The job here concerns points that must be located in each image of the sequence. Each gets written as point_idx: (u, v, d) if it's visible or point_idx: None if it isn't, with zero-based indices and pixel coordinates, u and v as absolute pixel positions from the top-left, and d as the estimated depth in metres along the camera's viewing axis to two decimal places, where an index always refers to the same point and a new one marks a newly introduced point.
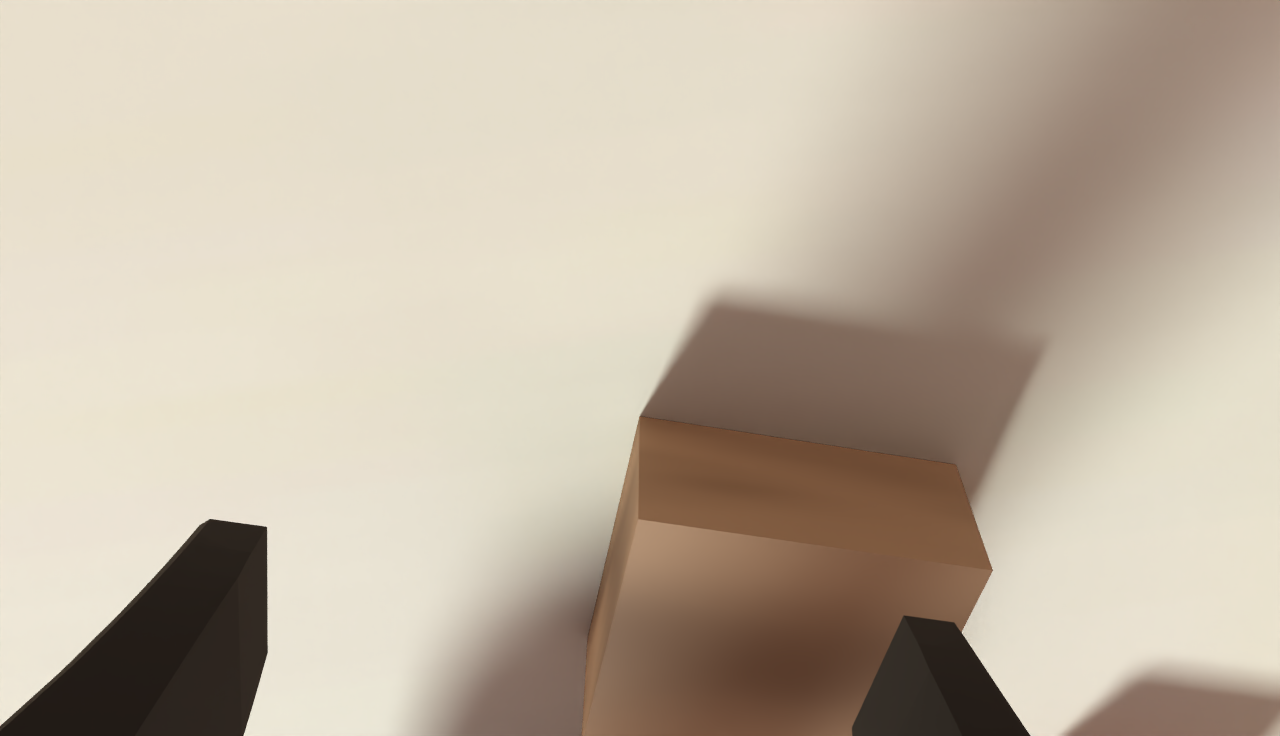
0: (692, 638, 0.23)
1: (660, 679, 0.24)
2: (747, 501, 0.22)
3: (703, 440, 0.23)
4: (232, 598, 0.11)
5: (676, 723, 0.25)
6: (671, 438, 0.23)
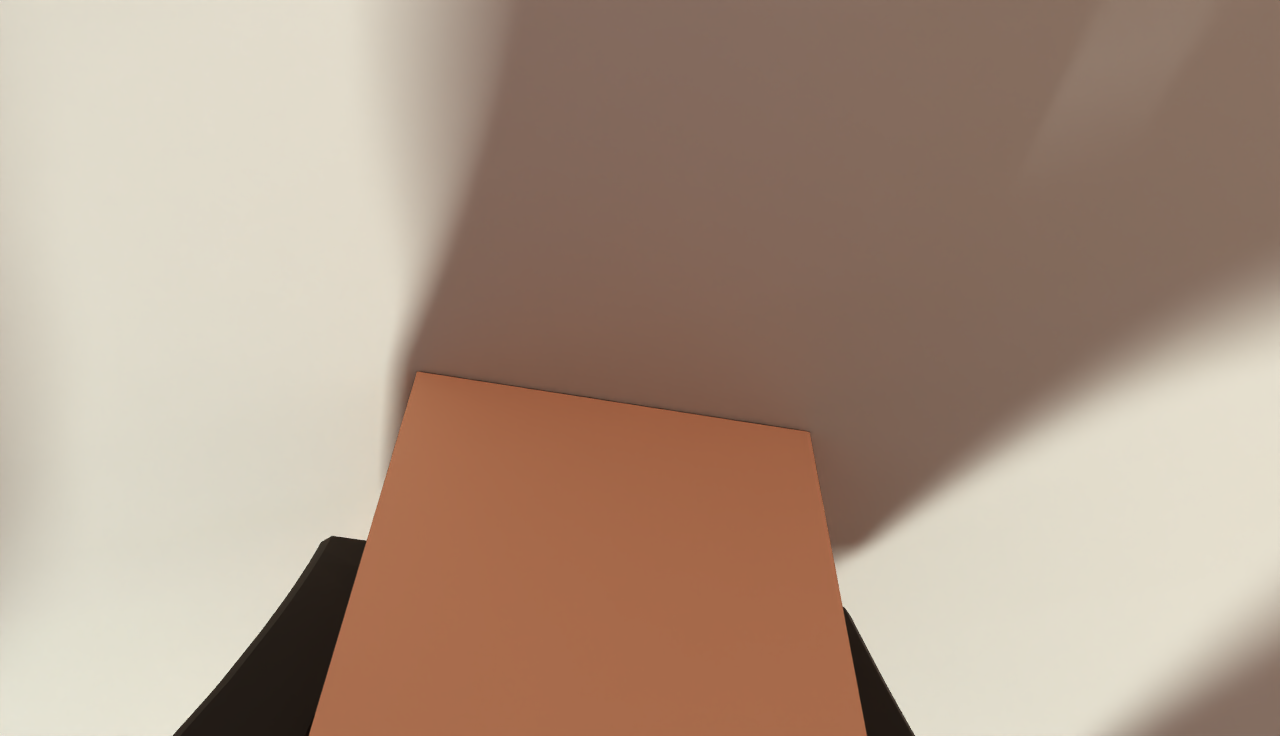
0: None
1: None
2: None
3: None
4: None
5: None
6: None
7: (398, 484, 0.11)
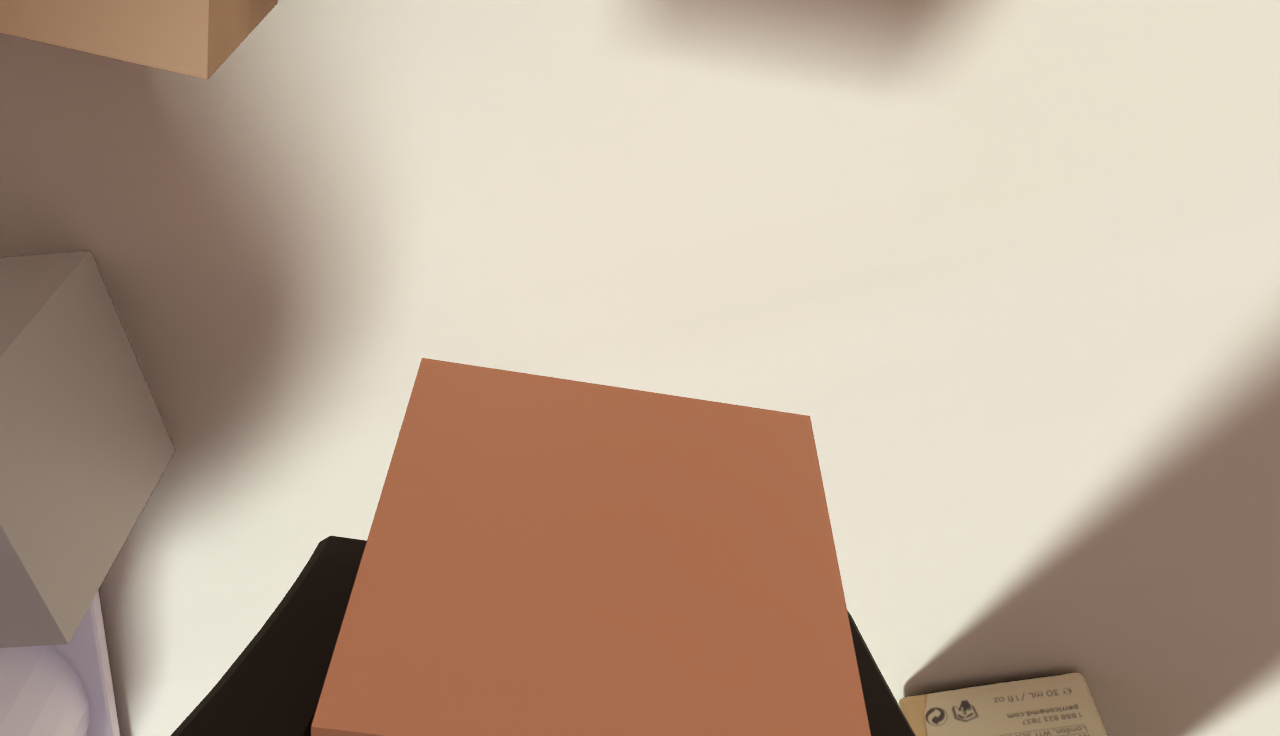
0: None
1: None
2: None
3: None
4: None
5: None
6: None
7: (404, 466, 0.11)
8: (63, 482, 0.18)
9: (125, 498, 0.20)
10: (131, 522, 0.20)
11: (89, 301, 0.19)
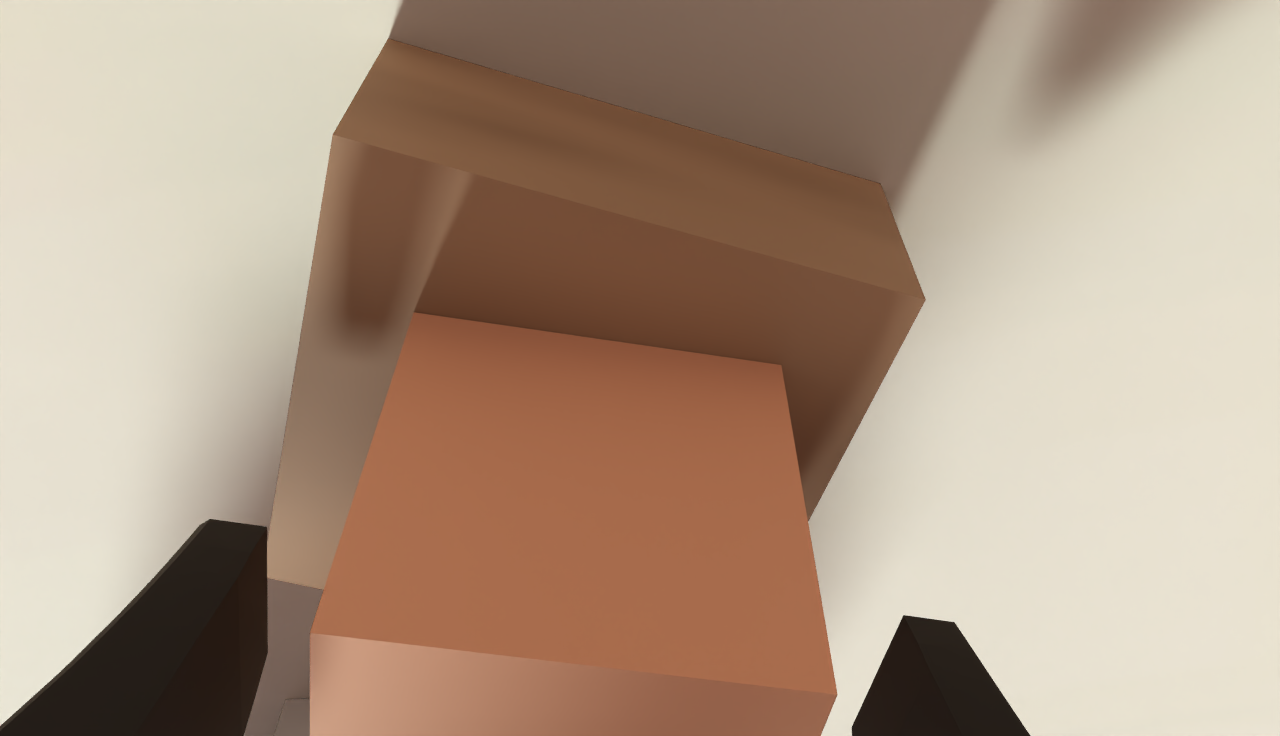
0: None
1: None
2: (536, 152, 0.13)
3: (486, 80, 0.15)
4: (232, 598, 0.11)
5: None
6: (432, 68, 0.14)
7: (396, 408, 0.12)
8: None
9: None
10: None
11: None
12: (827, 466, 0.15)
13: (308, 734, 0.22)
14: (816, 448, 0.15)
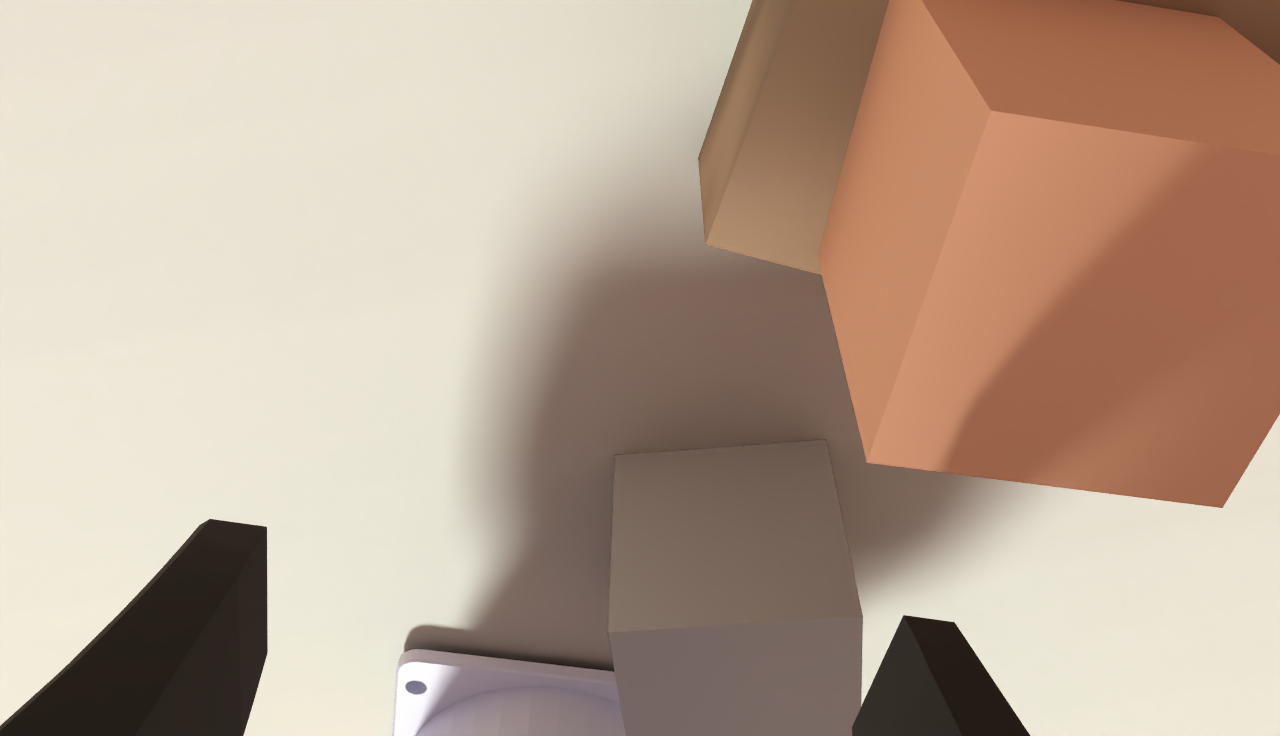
0: None
1: (847, 114, 0.16)
2: None
3: None
4: (232, 598, 0.11)
5: None
6: None
7: (938, 10, 0.13)
8: None
9: None
10: None
11: None
12: None
13: (646, 479, 0.23)
14: None
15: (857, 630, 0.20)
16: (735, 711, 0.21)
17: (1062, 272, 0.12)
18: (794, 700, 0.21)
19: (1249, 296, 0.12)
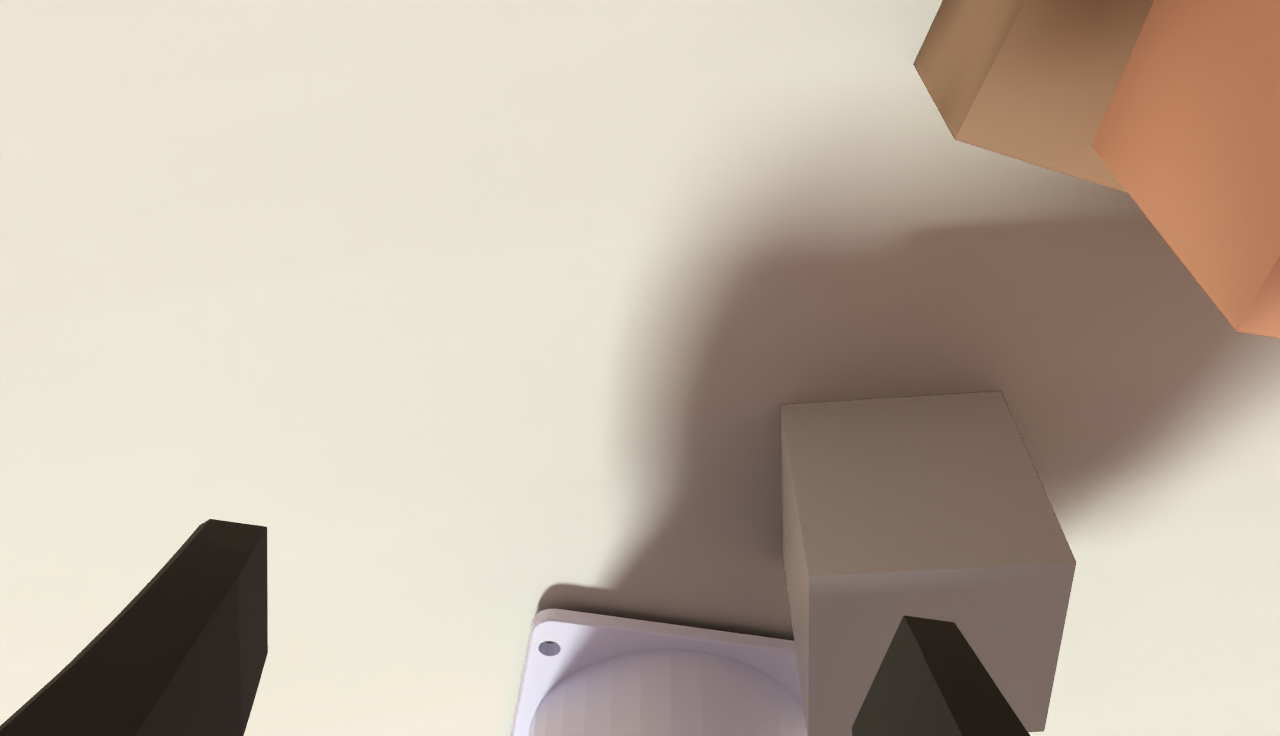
0: None
1: None
2: None
3: None
4: (233, 598, 0.11)
5: None
6: None
7: None
8: None
9: None
10: None
11: None
12: None
13: (819, 428, 0.23)
14: None
15: (1068, 577, 0.19)
16: None
17: None
18: (989, 652, 0.20)
19: None
